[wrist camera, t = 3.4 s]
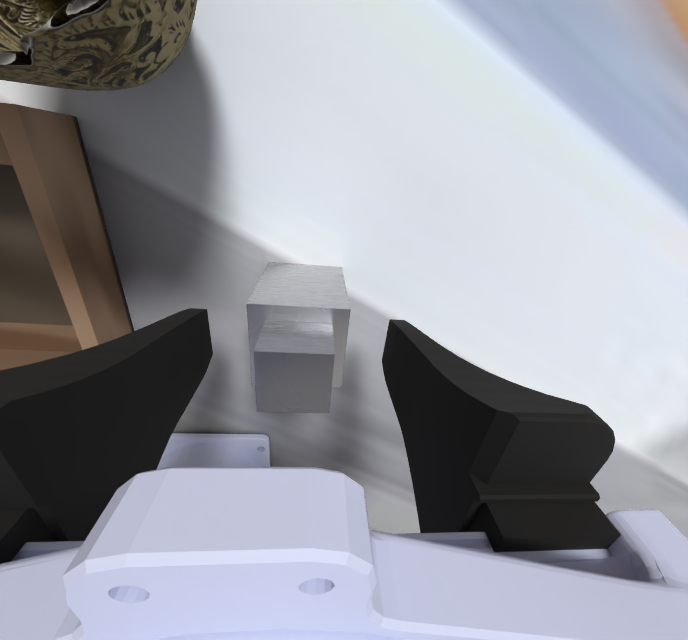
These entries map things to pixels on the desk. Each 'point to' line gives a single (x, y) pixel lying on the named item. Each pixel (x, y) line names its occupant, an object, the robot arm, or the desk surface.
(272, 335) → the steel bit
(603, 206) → the desk surface
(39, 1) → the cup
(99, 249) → the socket board
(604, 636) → the robot arm
